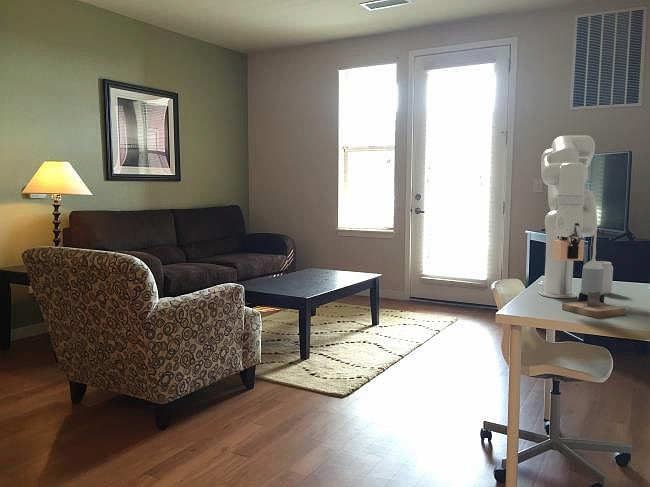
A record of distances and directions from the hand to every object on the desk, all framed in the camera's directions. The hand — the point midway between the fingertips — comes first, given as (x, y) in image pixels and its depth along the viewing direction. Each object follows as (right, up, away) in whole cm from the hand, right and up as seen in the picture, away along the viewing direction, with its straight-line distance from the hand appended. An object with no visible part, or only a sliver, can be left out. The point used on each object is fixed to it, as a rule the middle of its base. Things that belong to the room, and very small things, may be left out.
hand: (567, 256), depth 180 cm
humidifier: (+14, -16, +14) cm, 26 cm away
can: (+27, -15, +33) cm, 45 cm away
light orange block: (0, -1, 0) cm, 1 cm away
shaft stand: (+8, -18, -1) cm, 19 cm away
